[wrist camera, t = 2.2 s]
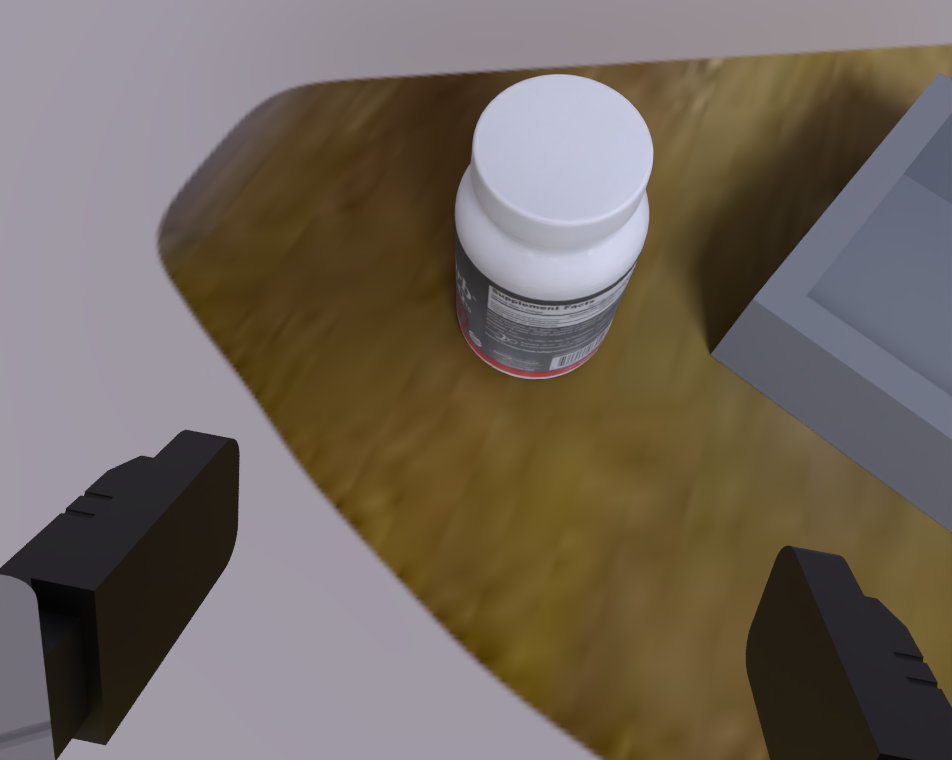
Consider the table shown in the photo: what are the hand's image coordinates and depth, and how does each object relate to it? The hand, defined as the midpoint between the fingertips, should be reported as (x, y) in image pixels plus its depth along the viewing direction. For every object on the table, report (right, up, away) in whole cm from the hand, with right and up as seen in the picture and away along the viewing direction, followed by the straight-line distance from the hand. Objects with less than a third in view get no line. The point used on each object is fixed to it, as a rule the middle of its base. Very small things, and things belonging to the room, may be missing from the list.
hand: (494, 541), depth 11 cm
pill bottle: (+2, +5, +18) cm, 19 cm away
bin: (+17, +4, +17) cm, 24 cm away
